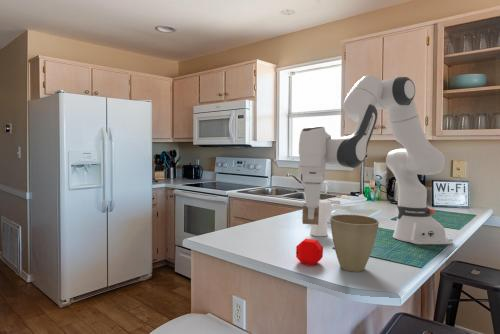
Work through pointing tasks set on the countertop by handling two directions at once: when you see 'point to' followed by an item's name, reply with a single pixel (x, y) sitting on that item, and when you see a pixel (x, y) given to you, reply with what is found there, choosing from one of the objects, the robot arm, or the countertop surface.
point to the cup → (322, 219)
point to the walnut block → (305, 215)
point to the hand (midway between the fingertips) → (310, 216)
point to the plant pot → (353, 240)
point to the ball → (309, 251)
